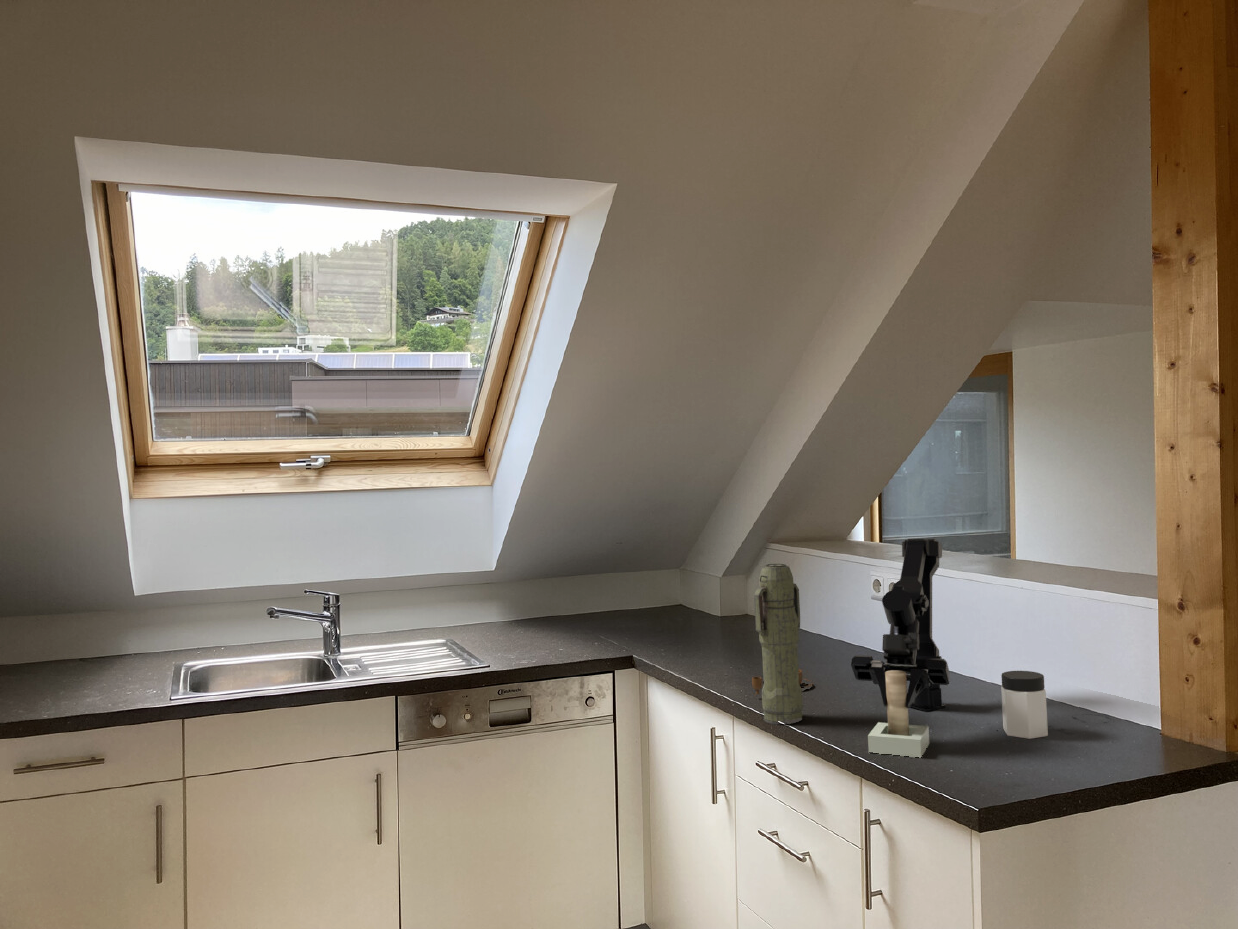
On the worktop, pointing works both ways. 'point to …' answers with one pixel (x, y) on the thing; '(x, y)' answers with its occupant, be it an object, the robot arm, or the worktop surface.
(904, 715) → the dowel
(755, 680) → the place setting
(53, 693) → the worktop surface
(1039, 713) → the jar
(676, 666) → the worktop surface
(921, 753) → the pale green square holder
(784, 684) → the thermos
